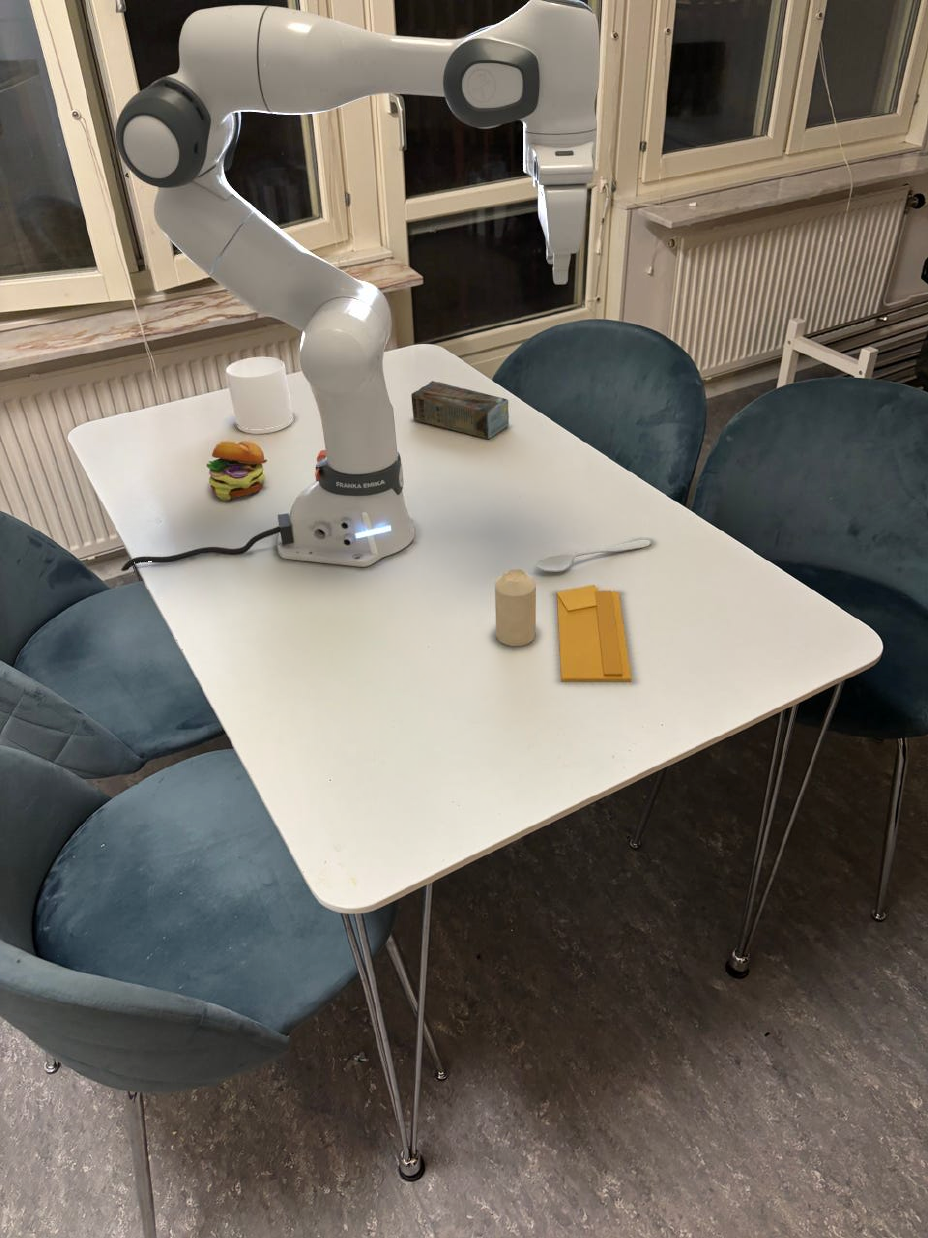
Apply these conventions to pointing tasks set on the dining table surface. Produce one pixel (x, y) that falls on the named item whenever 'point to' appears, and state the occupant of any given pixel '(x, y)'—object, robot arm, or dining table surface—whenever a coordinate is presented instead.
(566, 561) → the spoon
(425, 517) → the dining table surface
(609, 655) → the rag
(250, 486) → the cheeseburger
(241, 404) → the cup
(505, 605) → the candle
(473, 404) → the beverage carton
